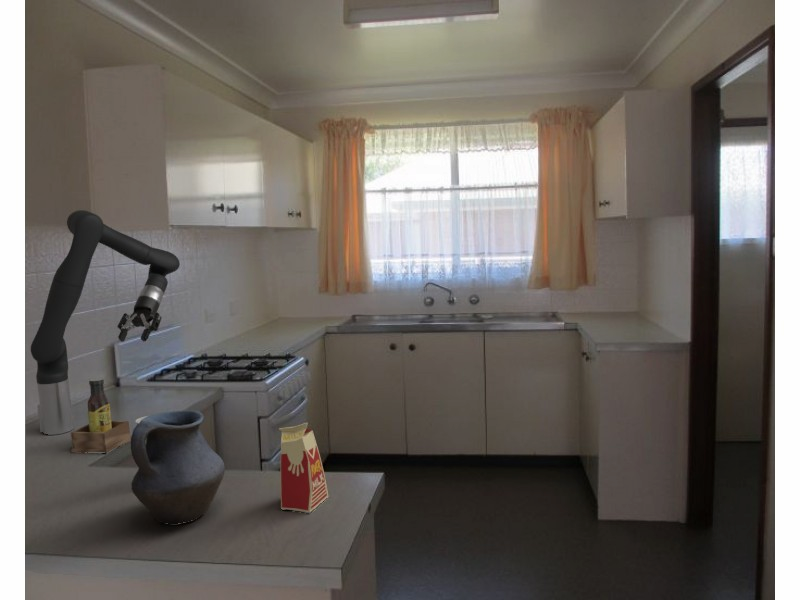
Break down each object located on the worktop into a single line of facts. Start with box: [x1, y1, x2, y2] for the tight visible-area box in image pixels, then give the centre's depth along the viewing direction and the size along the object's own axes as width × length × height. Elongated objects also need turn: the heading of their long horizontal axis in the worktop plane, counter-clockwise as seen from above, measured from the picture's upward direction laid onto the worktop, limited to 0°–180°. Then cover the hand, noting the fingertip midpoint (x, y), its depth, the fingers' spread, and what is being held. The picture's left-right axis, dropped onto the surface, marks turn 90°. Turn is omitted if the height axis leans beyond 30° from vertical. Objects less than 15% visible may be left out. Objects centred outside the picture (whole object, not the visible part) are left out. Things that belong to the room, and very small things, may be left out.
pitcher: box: [130, 409, 226, 525], centre depth 149 cm, size 21×22×25 cm
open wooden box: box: [70, 420, 132, 454], centre depth 202 cm, size 12×12×6 cm
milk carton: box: [278, 422, 330, 512], centre depth 153 cm, size 9×9×20 cm
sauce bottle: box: [87, 377, 112, 433], centre depth 201 cm, size 6×6×20 cm
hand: (131, 340), depth 219 cm, fingers open, 8 cm apart
